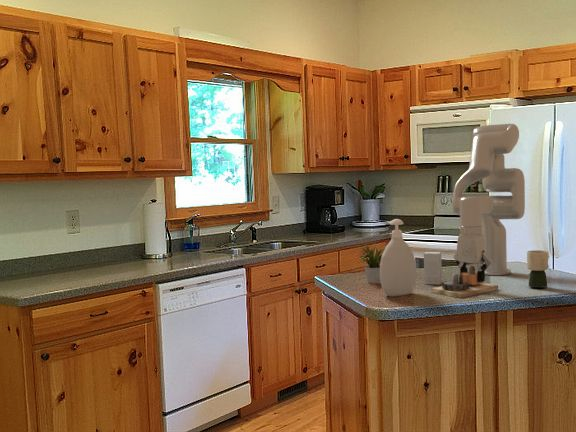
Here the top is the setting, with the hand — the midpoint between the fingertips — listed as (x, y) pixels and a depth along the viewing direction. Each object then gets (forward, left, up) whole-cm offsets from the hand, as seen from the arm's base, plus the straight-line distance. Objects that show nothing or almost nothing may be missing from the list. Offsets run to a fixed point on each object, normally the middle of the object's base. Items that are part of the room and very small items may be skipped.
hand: (472, 279), depth 212 cm
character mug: (+14, +18, -4) cm, 23 cm away
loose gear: (0, 0, -1) cm, 1 cm away
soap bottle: (-12, -25, -4) cm, 28 cm away
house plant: (-36, -17, -4) cm, 40 cm away
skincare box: (-17, -2, -4) cm, 18 cm away
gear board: (0, -4, -3) cm, 5 cm away
